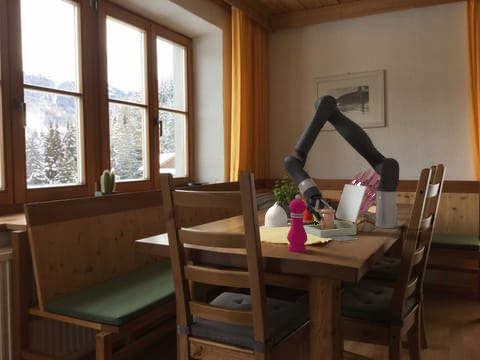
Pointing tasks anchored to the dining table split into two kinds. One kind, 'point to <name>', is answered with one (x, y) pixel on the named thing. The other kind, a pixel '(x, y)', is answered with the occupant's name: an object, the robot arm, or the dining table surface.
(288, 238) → the pepper mill
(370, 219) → the chocolate bunny
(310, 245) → the dining table surface
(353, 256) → the dining table surface
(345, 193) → the cold frame
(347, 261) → the dining table surface
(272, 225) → the teardrop
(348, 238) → the slate coaster
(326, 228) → the terracotta pot
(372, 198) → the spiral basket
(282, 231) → the dining table surface
